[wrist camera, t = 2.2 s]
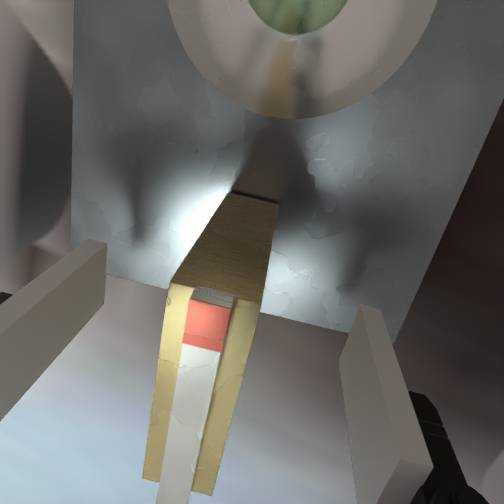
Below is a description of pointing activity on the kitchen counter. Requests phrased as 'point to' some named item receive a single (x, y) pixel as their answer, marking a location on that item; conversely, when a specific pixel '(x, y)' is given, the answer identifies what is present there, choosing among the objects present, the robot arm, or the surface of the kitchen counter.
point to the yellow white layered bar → (207, 346)
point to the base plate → (283, 137)
